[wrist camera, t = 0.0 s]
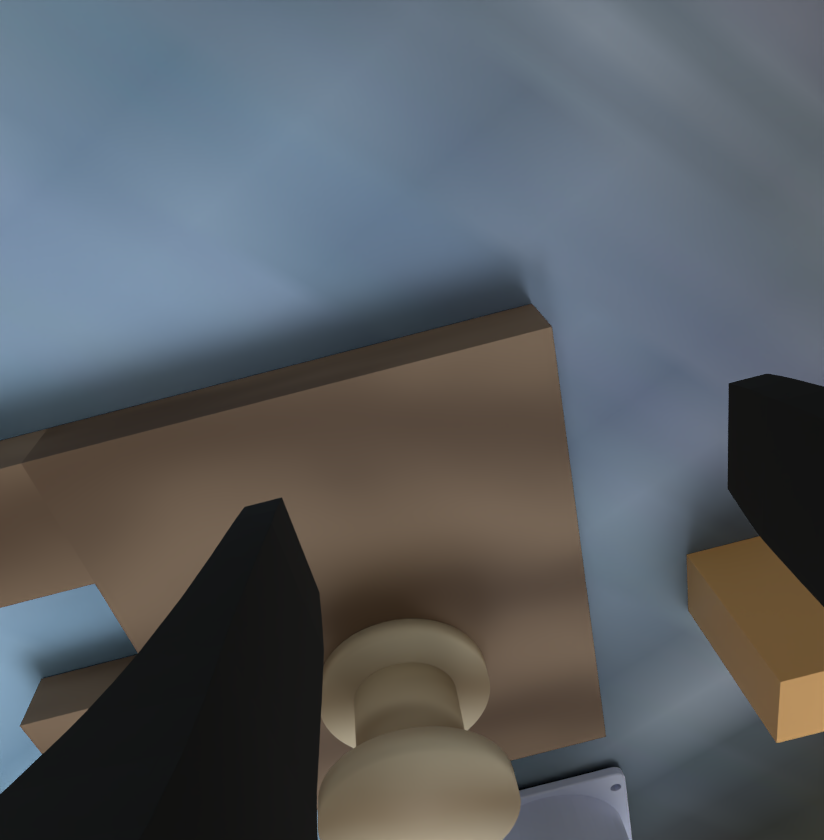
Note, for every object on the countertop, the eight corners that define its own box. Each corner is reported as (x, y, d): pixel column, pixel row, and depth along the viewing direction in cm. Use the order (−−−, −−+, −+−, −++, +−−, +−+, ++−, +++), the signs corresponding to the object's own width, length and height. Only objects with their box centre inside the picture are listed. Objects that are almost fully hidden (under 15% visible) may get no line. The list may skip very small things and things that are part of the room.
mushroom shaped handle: (497, 713, 25) (533, 848, 21) (345, 752, 25) (349, 895, 21) (469, 600, 23) (503, 729, 18) (297, 643, 23) (290, 783, 18)
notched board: (588, 695, 29) (605, 736, 27) (137, 809, 29) (125, 858, 27) (532, 303, 20) (552, 326, 18) (-113, 469, 20) (-155, 508, 18)
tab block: (760, 592, 27) (866, 720, 22) (688, 610, 27) (776, 743, 22) (763, 535, 25) (876, 657, 20) (686, 554, 25) (780, 682, 20)
